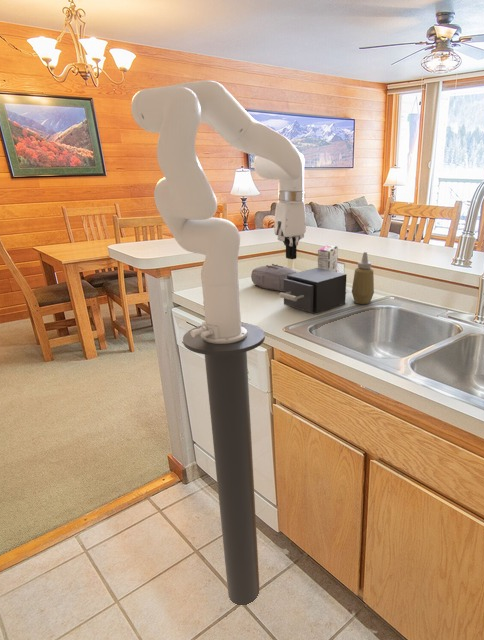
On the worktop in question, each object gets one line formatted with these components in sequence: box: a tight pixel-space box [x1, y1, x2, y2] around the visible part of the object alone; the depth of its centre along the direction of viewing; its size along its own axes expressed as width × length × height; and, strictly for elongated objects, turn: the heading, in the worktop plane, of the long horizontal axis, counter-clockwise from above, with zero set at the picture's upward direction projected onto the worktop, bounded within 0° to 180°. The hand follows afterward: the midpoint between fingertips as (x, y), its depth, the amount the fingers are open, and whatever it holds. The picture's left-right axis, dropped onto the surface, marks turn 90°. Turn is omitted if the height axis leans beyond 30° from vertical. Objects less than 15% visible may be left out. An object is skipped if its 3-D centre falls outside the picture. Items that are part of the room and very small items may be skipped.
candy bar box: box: [317, 244, 339, 272], centre depth 171 cm, size 11×5×16 cm, turn 161°
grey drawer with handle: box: [278, 279, 315, 313], centre depth 150 cm, size 20×13×9 cm, turn 139°
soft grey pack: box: [250, 263, 298, 292], centre depth 175 cm, size 15×8×20 cm
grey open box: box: [287, 267, 348, 315], centre depth 154 cm, size 16×14×11 cm
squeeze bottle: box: [351, 251, 375, 305], centre depth 156 cm, size 8×8×18 cm
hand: (291, 258), depth 139 cm, fingers closed
